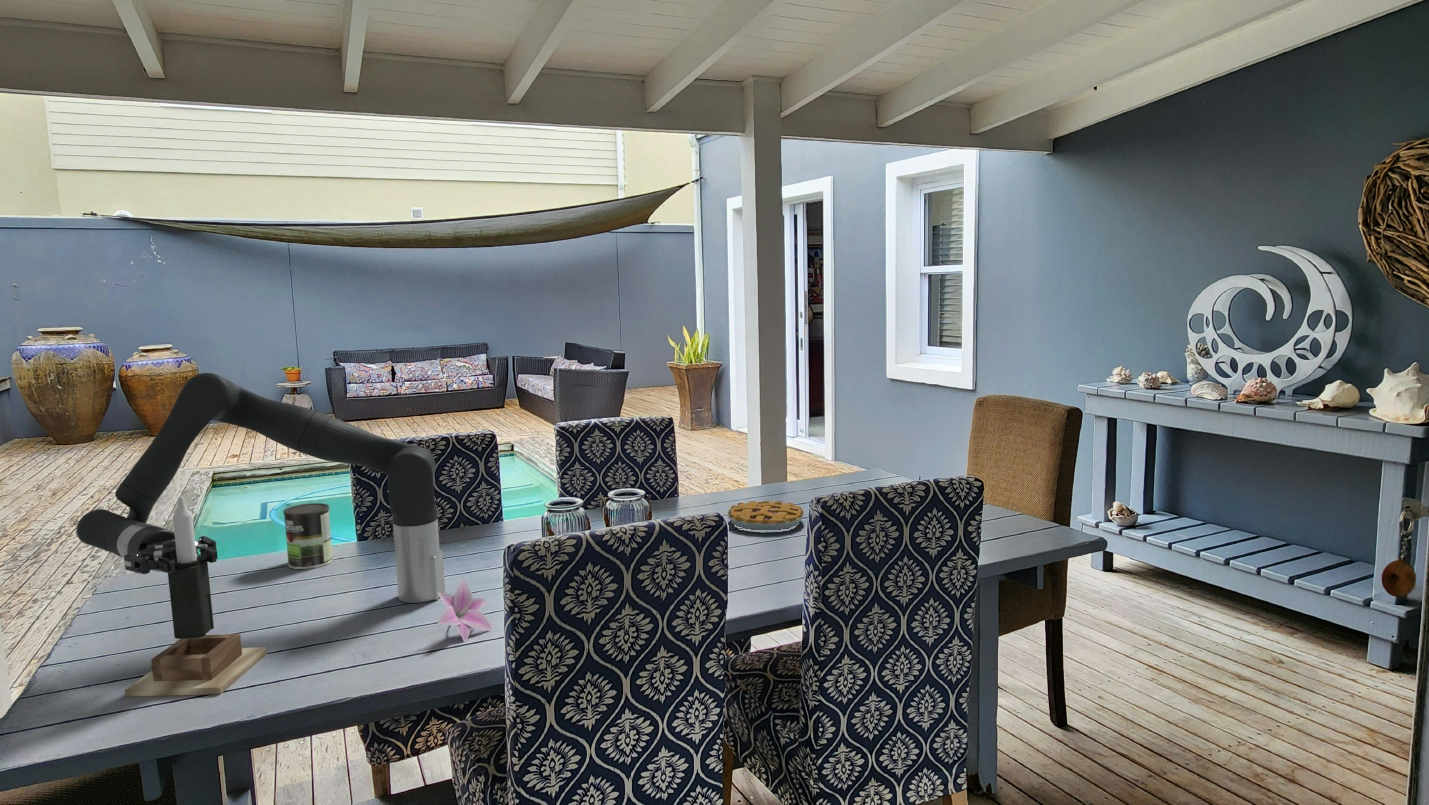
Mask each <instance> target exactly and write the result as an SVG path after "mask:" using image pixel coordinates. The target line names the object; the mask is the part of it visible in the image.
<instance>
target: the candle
mask: <svg viewBox="0 0 1429 805" xmlns="http://www.w3.org/2000/svg"><path fill="white" fill-rule="evenodd" d="M177 500H178V504H177V507H176V510H175V512H174V514H173V516H172V521H173V522H172V523H173V532H174V534H175V544H176V553H177V559H176V560H175V561H174V562H175V570H176V572H175V573H173V574H169V573H167V580H168V587H169V598H170V607H171V615H172V626H173V627H172V628H173V635H174V639H176V640H180V639H188V638H200V637H203V636H205V635H207V634H208V633H209V632H210V631H211V630H214V628H215V626H214V623H215V622H214V614H213V604H212V595H211V594H212V593H211V584H210V583H211V582H210V574H209V564H208V563H209V562H207V560H206V559H202V557H200V556H197V555H196V545H195V542H196V537H195V528H194V527H195V526H194V517H193V516H194V515H193V513H192V512H191V511H190V510H189V509H188V507H187V505H186V503H185V501H184V500H185V497H184V496H182V495H181V496H178V497H177Z"/></svg>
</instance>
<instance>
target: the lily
mask: <svg viewBox="0 0 1429 805" xmlns="http://www.w3.org/2000/svg"><path fill="white" fill-rule="evenodd" d="M471 591H472V590H471V588H470V586H469V583H468V581H467V579H465V577H464V576H463V577H461V578H460V579H459V582H458V585H457V588H456V590H455V592H454V595H453V594H450V593H447V592H438V595H439V596H440V597H439V598H440V599H441V601H442V602H443V603H444V605H445V606H446V609H444V612H443V613H442V615H441V616H440V617H439V619H438V621H437V623H438V624H439V625H442V626H448V627H447V629H449V630H450V628H451V626H457V629H458V630H459V634H460V636H461V638H462V641H463V642H465V641H466V642H467V640H468V638H469V636H470V633H471V628H477V629H480V630H484V631H488V632H491V631H492V630H493V627H492V625H491V623H490V622H489V620H488V619H487V617H486V616H485V615H484V613H483V612H481V610H482V609H483V607H484V605H485V603H486V599H485V598H482V597H481V598H480V597H473V594H472V592H471ZM466 642H465V643H466Z"/></svg>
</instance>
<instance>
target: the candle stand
mask: <svg viewBox="0 0 1429 805" xmlns="http://www.w3.org/2000/svg"><path fill="white" fill-rule="evenodd" d="M267 654H268V648H267V646H263V647H262V646H261V647H242V638H241V634H240V633H235V634H233V633H232V634H229V633H228V634H227V633H226V634H206V635H205V636H203V637H200V638H188V639H177V641H175V642H174V643H172V644H171V645H170V646H168V647H166V648H165V649H164V650H163V651H161V652H159V653H158V654H157V655H155V656H154V657H153V658H151V659H150V661H151V669H152V670H150V671H149V672H147V673H146V674H144V675H143V676H142V677H141V678H140V679H139V678H138V680H137V681H135V682H133V683H132V684H131V685H130V686H128V687H127V688H125V689H124V695H125V697H126V698H129V697H161V696H163V697H164V696H166V697H167V696H169V697H170V696H198V695H199V696H200V695H222V694H223V693H224V692H225V691H226V690H227V689H229V687H230V686H232V685H233V684H234V683H235V682H236V681H238V680H239V679H240V678H241V677H242V676H243V675H244V674H246V673H247V672H248V671H249V670H250V669H251V668H252V667H254V666H255V664H257V663H258V662H259V661H260V660H261V659H262V658H264V657H266V655H267Z"/></svg>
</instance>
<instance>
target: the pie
mask: <svg viewBox="0 0 1429 805" xmlns="http://www.w3.org/2000/svg"><path fill="white" fill-rule="evenodd" d="M726 514H727V518H728V519H729V520H730V521H731V522H730V523H732V525H733V524H734V525H736V526H738V527H742V528H745V529H751V530H781V529H789V528H791V527H793V526H796V525H797V524H798V523H799V522H800V523H801V521H802V519H803V518H804V517H805V513H804V510H803V509H802V507H801V506H800V505H795V503H792V502H783V501H781V500H776V501H769V500H762V501H755V500H752V501H751V500H750V501H748V502H738V503H737V505H736V504H735V505H734V504H733V505H731V506H730V509H728V511H727V513H726ZM800 523H799V524H800Z"/></svg>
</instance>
